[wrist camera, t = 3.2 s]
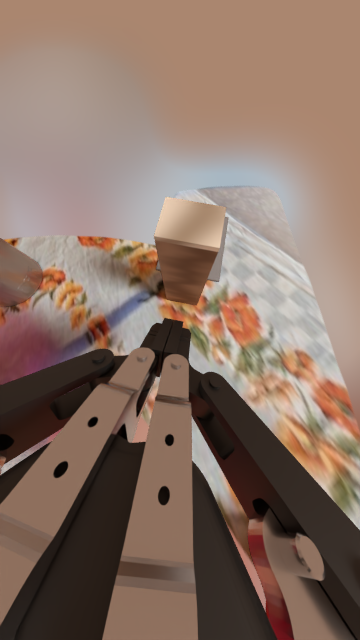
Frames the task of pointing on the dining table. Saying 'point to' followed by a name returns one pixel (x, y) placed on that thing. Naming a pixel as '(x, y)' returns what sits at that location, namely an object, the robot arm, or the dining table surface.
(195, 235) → the walnut block
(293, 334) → the dining table surface
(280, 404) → the dining table surface
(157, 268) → the rubber mat
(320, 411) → the dining table surface
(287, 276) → the dining table surface
